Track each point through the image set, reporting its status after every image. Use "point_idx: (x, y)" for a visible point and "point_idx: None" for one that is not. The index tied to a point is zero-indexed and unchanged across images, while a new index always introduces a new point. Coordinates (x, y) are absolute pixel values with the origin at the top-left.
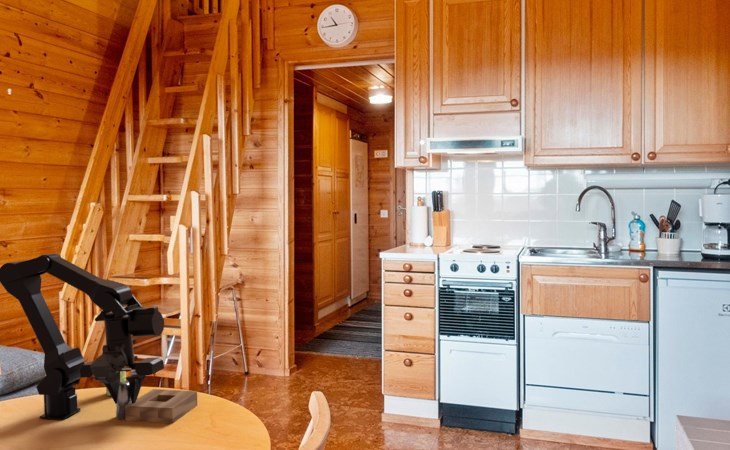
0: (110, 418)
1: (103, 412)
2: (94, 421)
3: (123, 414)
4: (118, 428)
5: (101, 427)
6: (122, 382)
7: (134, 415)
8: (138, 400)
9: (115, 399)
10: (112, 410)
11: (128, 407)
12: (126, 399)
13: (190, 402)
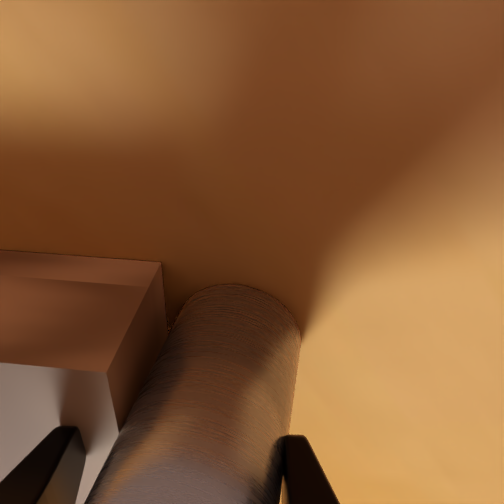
0: (343, 299)
1: (482, 408)
2: (482, 223)
3: (190, 316)
4: (77, 53)
5: (304, 60)
6: None
7: (41, 287)
8: (80, 487)
9: (290, 483)
10: (418, 439)
11: (69, 352)
12: (105, 467)
13: None
